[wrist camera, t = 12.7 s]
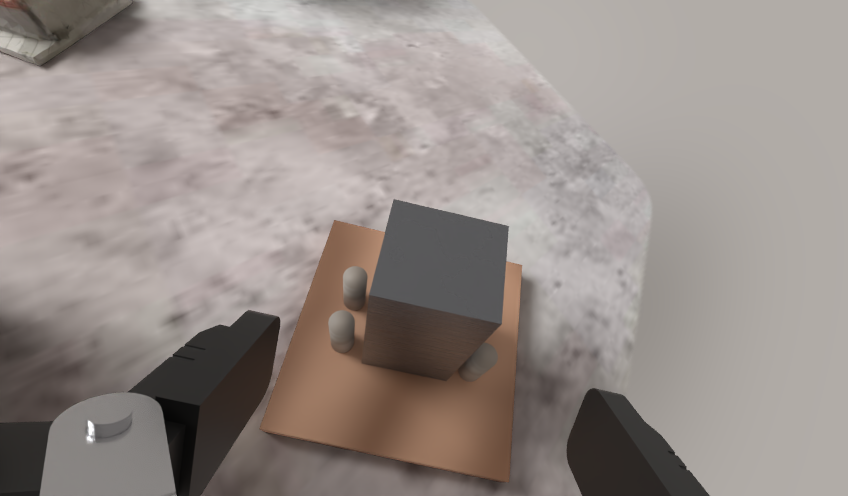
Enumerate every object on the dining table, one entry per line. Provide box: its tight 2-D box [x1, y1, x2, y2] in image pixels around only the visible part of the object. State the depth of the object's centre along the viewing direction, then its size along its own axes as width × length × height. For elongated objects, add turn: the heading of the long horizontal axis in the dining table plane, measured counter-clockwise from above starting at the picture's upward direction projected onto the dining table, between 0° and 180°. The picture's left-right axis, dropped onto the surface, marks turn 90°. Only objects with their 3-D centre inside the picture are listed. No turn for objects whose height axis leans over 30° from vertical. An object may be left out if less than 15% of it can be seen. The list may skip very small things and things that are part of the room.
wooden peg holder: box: [260, 220, 522, 482], centre depth 21 cm, size 12×12×4 cm
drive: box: [362, 199, 509, 381], centre depth 18 cm, size 4×4×9 cm
